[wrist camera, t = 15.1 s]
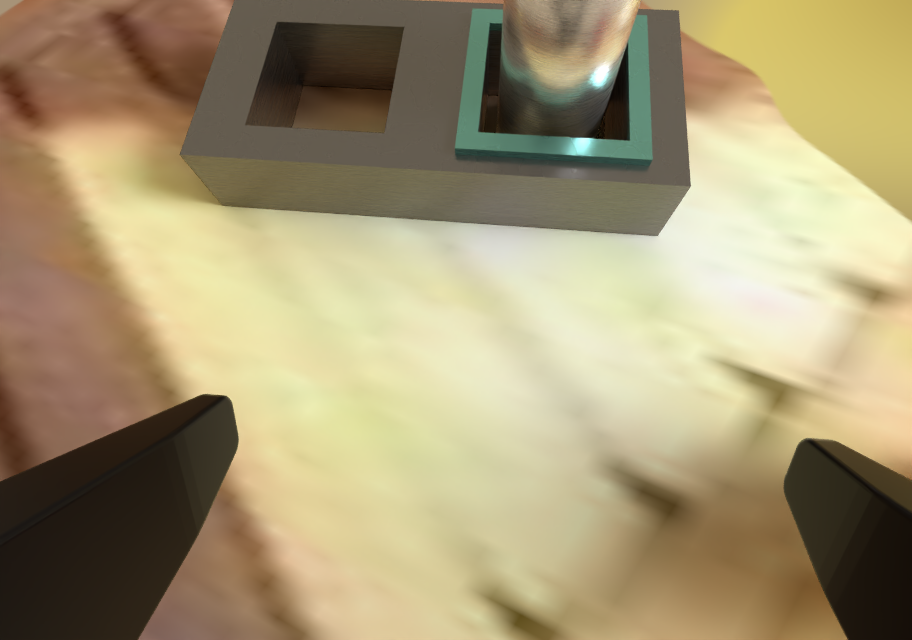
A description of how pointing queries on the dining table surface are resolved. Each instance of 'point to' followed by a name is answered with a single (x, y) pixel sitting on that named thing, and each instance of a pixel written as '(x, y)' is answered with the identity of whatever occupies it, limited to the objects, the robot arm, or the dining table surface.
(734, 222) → the dining table surface
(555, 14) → the steel sleeve
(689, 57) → the dining table surface
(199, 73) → the dining table surface
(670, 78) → the jig plate
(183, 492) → the robot arm
